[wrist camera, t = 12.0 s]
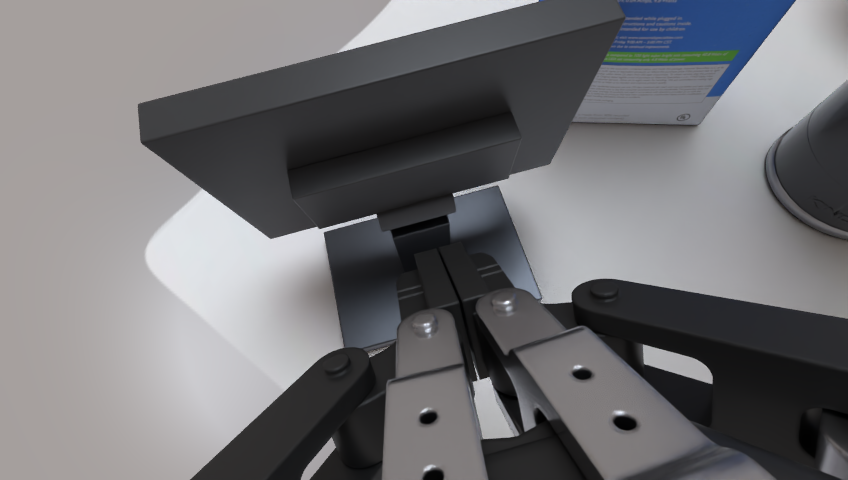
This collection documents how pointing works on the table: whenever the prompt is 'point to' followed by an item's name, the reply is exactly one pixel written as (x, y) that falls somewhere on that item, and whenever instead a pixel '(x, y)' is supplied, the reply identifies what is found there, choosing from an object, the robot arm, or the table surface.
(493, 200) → the monitor stand
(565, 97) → the panel
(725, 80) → the string lights box
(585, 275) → the table surface
